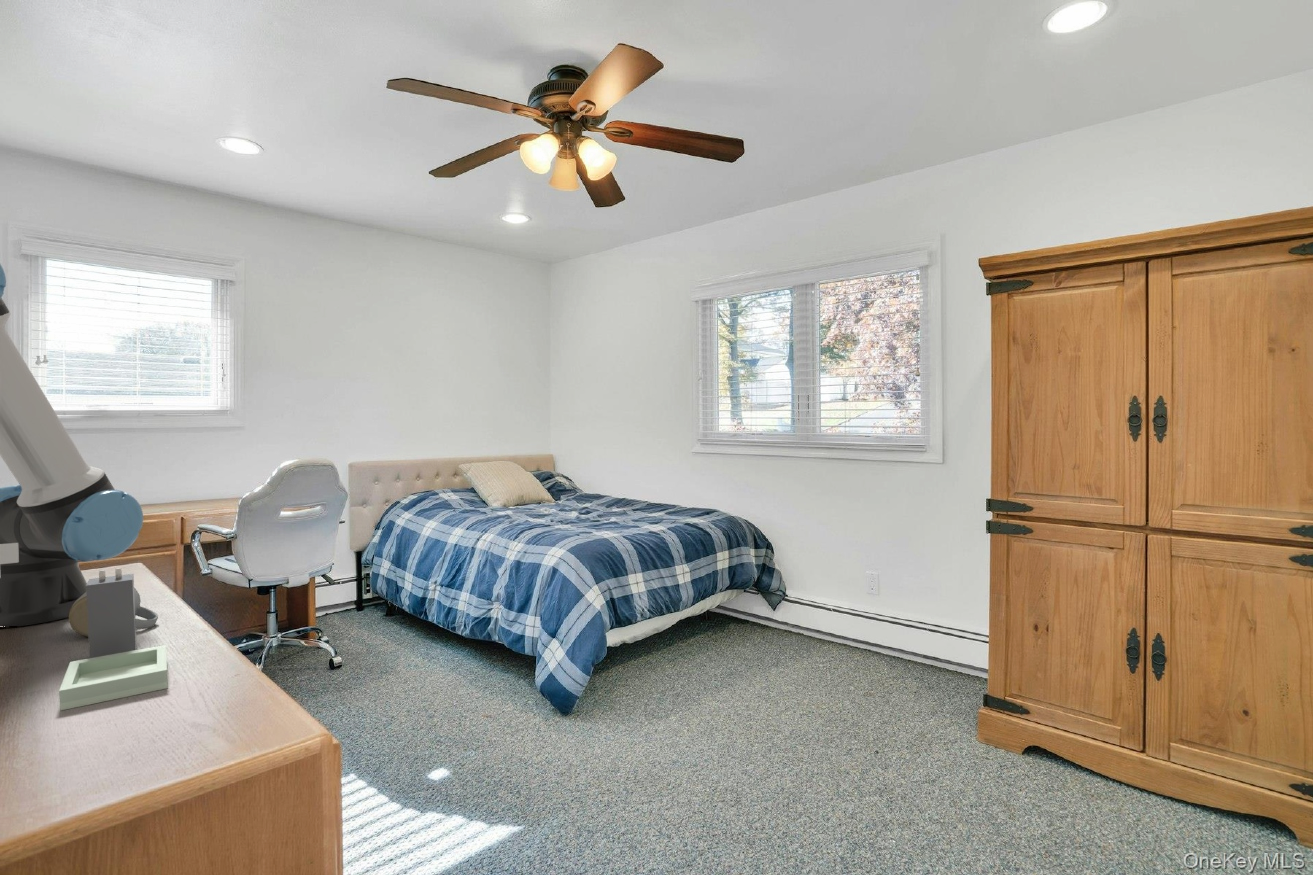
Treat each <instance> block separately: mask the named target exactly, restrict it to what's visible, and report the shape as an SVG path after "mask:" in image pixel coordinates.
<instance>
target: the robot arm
mask: <svg viewBox="0 0 1313 875" xmlns="http://www.w3.org/2000/svg"><path fill="white" fill-rule="evenodd" d="M6 286H7V278H6V273H5V271H4V268H3V266H2V263H0V458H1V459H2V461H4V463H5V464H6V466H7V468H8V470H9V471H10V472H11V473H12V476H13V477H14V478H15V479H16V481H17V483H18V485H10V486H2V487H0V626H3V627H4V626H5V627H6V628H10V627H9V626H17V627H24V626H30V625H37V624H42V623H47V622H54V621H58V620H62V619H67V618H69V612H70V610H71V608H72V606H73V604H74V603H75V602H76V600H78V599H79V598H80V597H81V596H82V595H83V594H84V593H85V592H86V585H87V583H88V581H86V579H85V577H84V574H83V572H82V571H81V568H80V566H79V565H80V564H79V562H83V563H85V562H93V561H105V560H110V559H112V558H115V557H117V556H119V555H121V554H122V553H123V554H124V552H125V551H127V550H128V549H129V548H131V546H132V545H133V544H134V543H135V541H136V540H137V539H138V537H139V535H140V534H139V533H140V530H142V528H143V523H144V514H143V513H144V512H143V509H142V506H141V504H140V503H139V502H138V500H137V498H135V497H134V496H132V495H131V494H130V493H127V492H124V491H122V490H118V489H115V487H114V486H113V484H112V483H111V481H110V479H109V478H108V476H107V474H106V473H105V471H104V470H103V469H102V468H100V467H99V468H98V467H95V466H91V465H88V464H87V463H86V461H85V460H84V458H83V456H82V455H81V453H80V451H79V450H78V448H77V446H76V445H75V443H74V442H73V439H72V438H71V436H70V434H69V433H68V431H67V430H66V427H65V426H64V424H63V423H62V420H60V418H59V417H58V414H57V413H56V411H55V410H54V408H53V407H52V404H51V403H50V401H49V400H48V398H47V396H46V394H45V393H44V391H43V390H42V388H41V386H40V385H39V383H38V381H37V380H36V378H35V376H34V374H33V373H32V371H31V369H30V368H29V366H28V364H27V363H26V362H25V359H24V358H23V356H22V355H21V352H20V351H19V349H18V348H17V347H16V345H15V343H14V341H13V340H12V338H11V337H10V335H9V333H8V331H7V330H6V324H7V321H8V320H9V318H10V316H11V312H10V310H9V308H8V306H7V305H6V303H5V301H4V299H3V298H2V297H3V295H4V291H5V288H6Z"/></svg>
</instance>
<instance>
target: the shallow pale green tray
mask: <svg viewBox="0 0 1313 875" xmlns="http://www.w3.org/2000/svg"><path fill="white" fill-rule="evenodd" d="M167 659H168V658H167V644H164V645H159V646H152V647H148V648H141V649H137V650H134V651H129V652H123V653H117V654H112V655H106V656H100V657H95V658H85V659H78V660H73V661H70V662H69V664H68V667H67V669H66V672H65V674H64V677H63V679H62V682H61V685H60V687H59V690H58V692H59V693H58V696H59V699H58V700H59V711H60V712H61V711H64V710H70V709H75V708H79V707H84V706H88V705H93V704H97V703H103V702H108V701H112V700H113V701H114V700H117V699H122V698H127V697H133V696H137V695H142V694H146V693H150V692H151V693H152V692H156V691H160V690H165V689H168V687H169V686H168V660H167Z"/></svg>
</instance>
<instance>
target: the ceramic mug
mask: <svg viewBox="0 0 1313 875" xmlns="http://www.w3.org/2000/svg"><path fill="white" fill-rule="evenodd" d="M140 596H141V595H140V593H139V591H138V590H137V589H136V588H135V587H134V597H135V619H136V630H137V629H139V630H140V629H141V630H142V629H143V630H144V629H151V628H153V627H154V626H155V625H156V623H157V620H159V615H158V613H156V612H155V611H153V610H151V609H149V608H146V607H144V606H141V603H142V602H141V597H140ZM136 616H137V617H140V618H136ZM141 618H143V619H141ZM68 623H69V625H70V628H72V630H74V631H75V632H76V633H77V634H79V635H81V636H83V637H86V638H88V617H87V595H86V592H85V593H84V594H83V595H82V596H81V597H80V598H79V599H78V600H76V602H75V603H74V604H73V606H72V608H71V610H70V612H69V617H68ZM152 626H153V627H152Z"/></svg>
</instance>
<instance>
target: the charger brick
mask: <svg viewBox="0 0 1313 875" xmlns="http://www.w3.org/2000/svg"><path fill="white" fill-rule="evenodd" d="M122 571H123V570H122V567H117V568H115V572H114V574H115V575H111V576H106V570H105V569H102V570H98V577H97V578H96V577H95V578H89V579H88V581H87V585H86V595H87V617H88V637H87V638H88V656H89V658H95V657H100V656H106V655H112V654H117V653H123V652H129V651H134V650H138V649H137V648H138V647H137V628H136V619H137V618H136V615H135V597H134V588H135V577H134V575H135V574H134V573H128V574H127V573H126V574H122ZM135 618H136V619H135ZM89 658H88V659H89Z"/></svg>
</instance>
